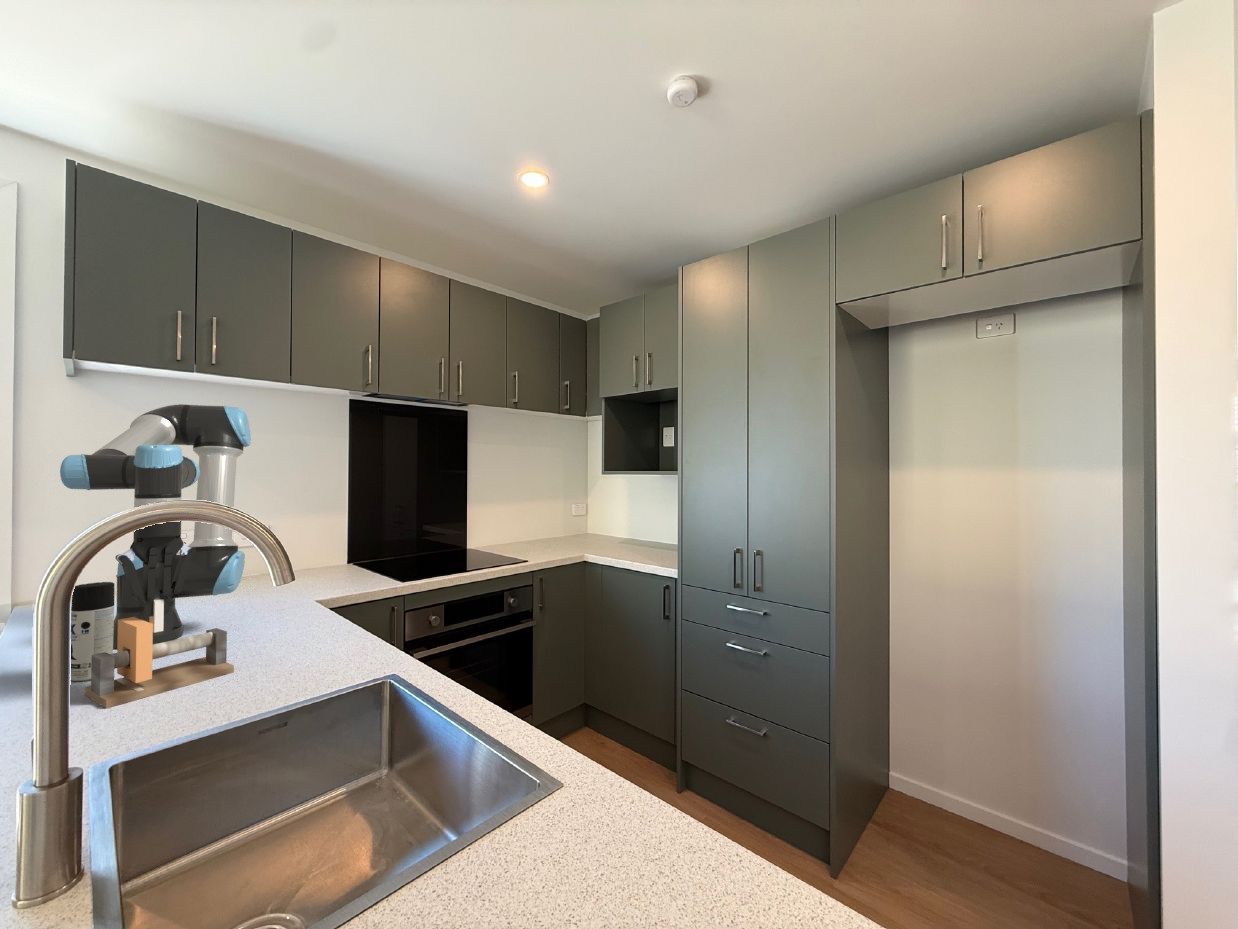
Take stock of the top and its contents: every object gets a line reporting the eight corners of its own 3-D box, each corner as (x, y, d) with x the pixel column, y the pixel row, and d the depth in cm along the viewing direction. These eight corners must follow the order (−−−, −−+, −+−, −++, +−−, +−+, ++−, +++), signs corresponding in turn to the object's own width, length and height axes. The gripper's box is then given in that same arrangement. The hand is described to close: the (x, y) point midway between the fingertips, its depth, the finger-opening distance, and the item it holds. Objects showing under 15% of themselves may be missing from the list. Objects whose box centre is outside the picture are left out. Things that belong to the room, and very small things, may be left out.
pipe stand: (209, 662, 123) (209, 625, 123) (233, 672, 117) (234, 633, 117) (84, 694, 105) (85, 651, 105) (106, 708, 98) (107, 662, 99)
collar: (132, 669, 110) (133, 617, 110) (151, 678, 105) (152, 623, 105) (117, 673, 108) (117, 619, 108) (135, 683, 103) (136, 627, 103)
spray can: (69, 676, 114) (70, 584, 114) (112, 668, 119) (113, 580, 119) (69, 685, 109) (71, 589, 110) (114, 676, 114) (116, 584, 115)
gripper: (123, 521, 103) (121, 642, 102) (203, 516, 114) (201, 625, 113) (110, 519, 106) (108, 636, 106) (188, 515, 118) (186, 620, 117)
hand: (156, 630), depth 110 cm, fingers closed
